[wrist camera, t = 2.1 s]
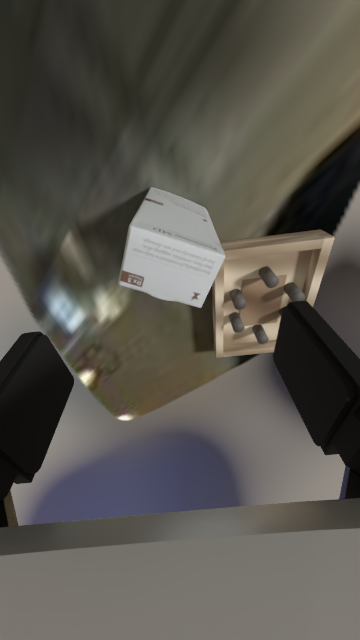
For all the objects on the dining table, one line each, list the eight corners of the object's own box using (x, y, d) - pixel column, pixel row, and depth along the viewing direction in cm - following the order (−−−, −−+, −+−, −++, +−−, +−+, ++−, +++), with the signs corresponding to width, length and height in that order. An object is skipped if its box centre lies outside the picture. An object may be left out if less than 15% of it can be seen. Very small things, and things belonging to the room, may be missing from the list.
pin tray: (210, 243, 25) (216, 256, 22) (320, 229, 24) (341, 241, 22) (213, 345, 35) (217, 363, 32) (291, 336, 34) (303, 354, 31)
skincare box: (207, 206, 23) (234, 252, 13) (191, 248, 25) (204, 311, 16) (147, 184, 21) (129, 217, 12) (137, 230, 24) (116, 288, 14)
